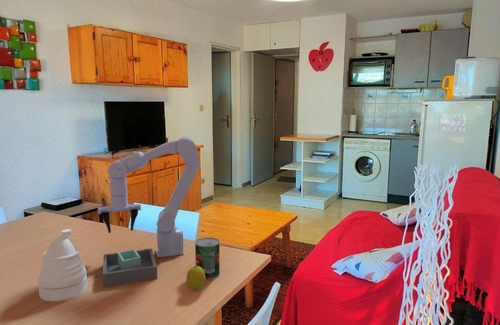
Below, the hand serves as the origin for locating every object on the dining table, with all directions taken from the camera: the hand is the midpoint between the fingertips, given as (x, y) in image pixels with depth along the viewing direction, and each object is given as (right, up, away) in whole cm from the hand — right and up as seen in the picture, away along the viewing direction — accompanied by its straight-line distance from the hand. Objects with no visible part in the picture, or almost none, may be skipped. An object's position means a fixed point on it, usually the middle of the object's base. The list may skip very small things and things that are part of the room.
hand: (120, 230), depth 134 cm
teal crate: (+7, -11, -12) cm, 17 cm away
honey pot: (-9, -13, -24) cm, 29 cm away
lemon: (+31, -14, -24) cm, 41 cm away
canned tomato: (+33, -12, -13) cm, 37 cm away
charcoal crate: (+7, -11, -12) cm, 18 cm away
